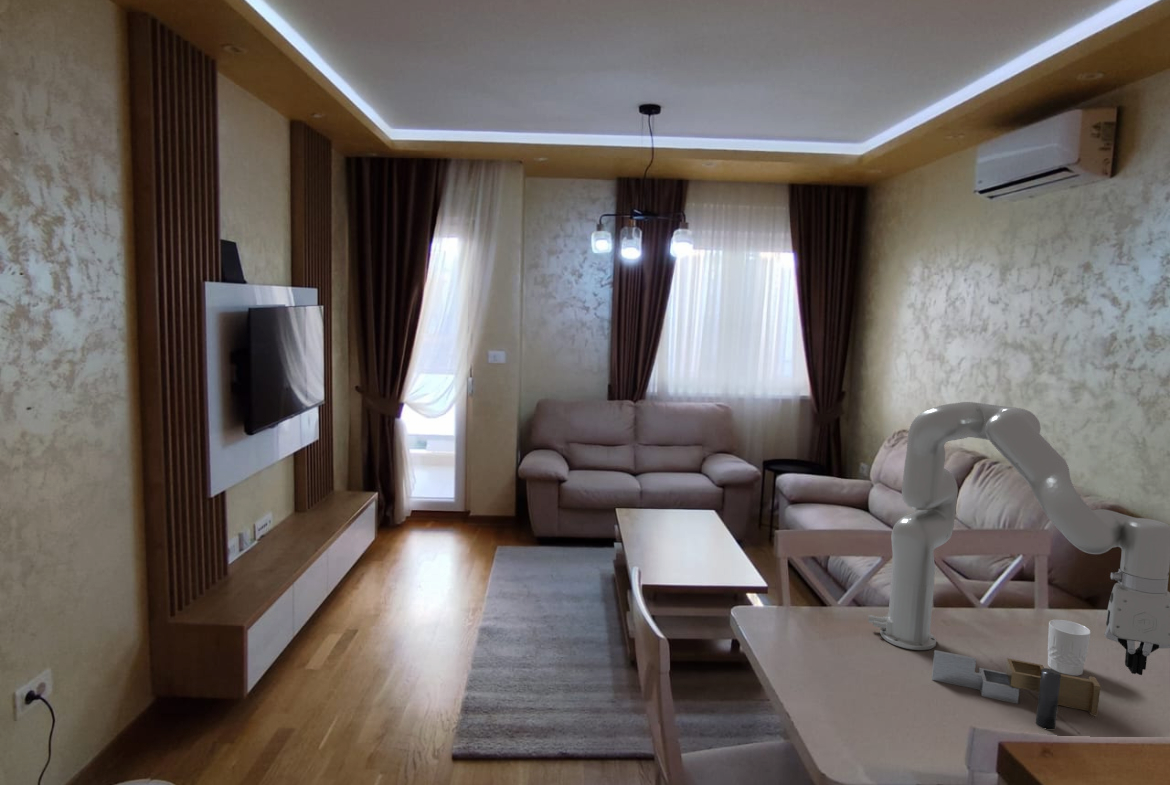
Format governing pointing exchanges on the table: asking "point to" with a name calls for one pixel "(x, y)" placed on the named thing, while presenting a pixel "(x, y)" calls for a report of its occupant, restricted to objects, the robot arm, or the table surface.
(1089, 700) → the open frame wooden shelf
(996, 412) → the robot arm
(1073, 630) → the white cup
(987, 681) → the fixed leaf
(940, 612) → the table surface
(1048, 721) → the pin
